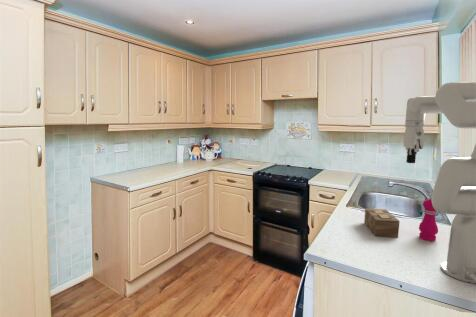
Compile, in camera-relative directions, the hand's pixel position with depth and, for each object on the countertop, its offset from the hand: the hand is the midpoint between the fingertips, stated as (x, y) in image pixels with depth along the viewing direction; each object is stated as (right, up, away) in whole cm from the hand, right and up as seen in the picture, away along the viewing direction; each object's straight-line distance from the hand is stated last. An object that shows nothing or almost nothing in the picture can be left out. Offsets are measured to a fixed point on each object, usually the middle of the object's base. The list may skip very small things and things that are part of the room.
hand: (410, 162), depth 132 cm
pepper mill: (+4, -35, -6) cm, 36 cm away
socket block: (-13, -33, +3) cm, 36 cm away
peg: (-14, -33, -1) cm, 36 cm away
